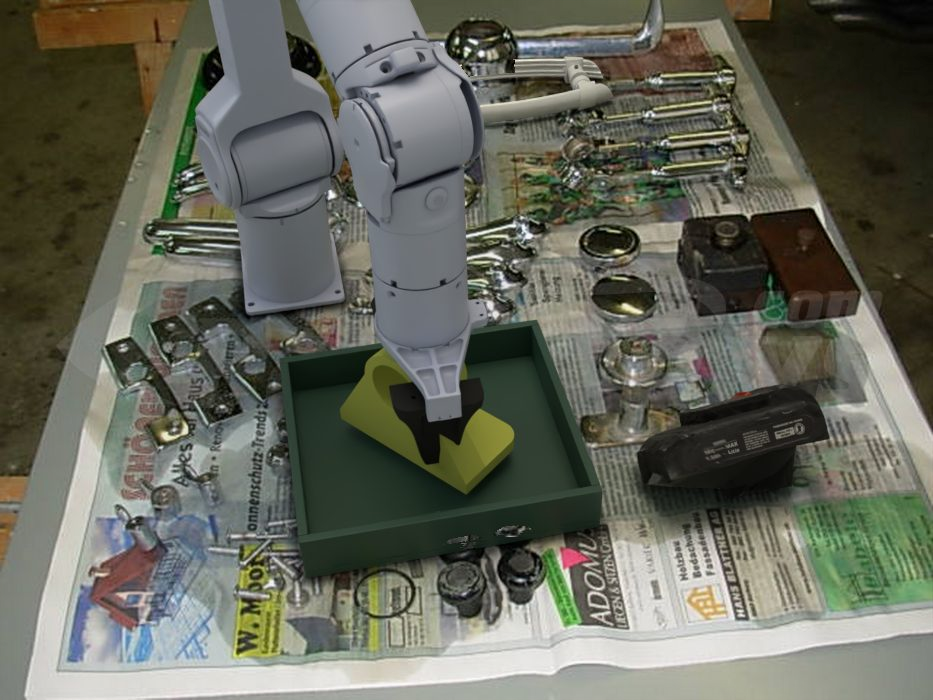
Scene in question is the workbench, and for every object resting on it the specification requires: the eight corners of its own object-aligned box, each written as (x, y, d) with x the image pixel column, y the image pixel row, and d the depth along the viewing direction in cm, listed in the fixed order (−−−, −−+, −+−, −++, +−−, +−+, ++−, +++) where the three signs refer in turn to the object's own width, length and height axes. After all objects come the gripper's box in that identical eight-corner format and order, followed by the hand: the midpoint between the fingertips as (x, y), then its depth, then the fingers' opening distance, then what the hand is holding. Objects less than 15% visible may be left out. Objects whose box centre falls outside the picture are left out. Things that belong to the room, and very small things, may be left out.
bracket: (521, 454, 77) (523, 346, 70) (466, 507, 73) (462, 399, 67) (399, 385, 82) (389, 279, 75) (343, 431, 79) (327, 324, 72)
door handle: (362, 92, 116) (595, 68, 119) (370, 141, 109) (619, 114, 111) (360, 69, 115) (596, 45, 117) (368, 117, 107) (620, 90, 110)
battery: (810, 479, 77) (776, 384, 78) (859, 469, 69) (820, 363, 70) (649, 529, 76) (617, 431, 77) (680, 525, 68) (644, 416, 69)
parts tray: (285, 393, 83) (278, 357, 80) (536, 354, 85) (537, 318, 83) (306, 578, 70) (299, 543, 68) (600, 527, 72) (603, 491, 70)
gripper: (512, 328, 61) (511, 490, 70) (461, 185, 72) (467, 342, 81) (385, 347, 60) (401, 509, 70) (353, 200, 71) (371, 357, 80)
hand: (430, 420), depth 75 cm, fingers closed on bracket, 6 cm apart
